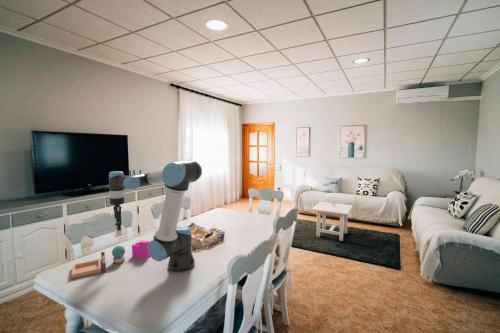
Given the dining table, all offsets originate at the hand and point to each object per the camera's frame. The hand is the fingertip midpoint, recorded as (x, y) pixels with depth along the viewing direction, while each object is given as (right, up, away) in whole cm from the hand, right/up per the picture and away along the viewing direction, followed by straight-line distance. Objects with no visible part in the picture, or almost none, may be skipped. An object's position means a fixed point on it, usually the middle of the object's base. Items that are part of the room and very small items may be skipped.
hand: (118, 231), depth 146 cm
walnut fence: (-6, -19, -4) cm, 20 cm away
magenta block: (+11, -18, +13) cm, 25 cm away
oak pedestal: (0, -19, +1) cm, 19 cm away
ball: (0, -12, +1) cm, 12 cm away
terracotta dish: (-13, -19, -9) cm, 25 cm away
